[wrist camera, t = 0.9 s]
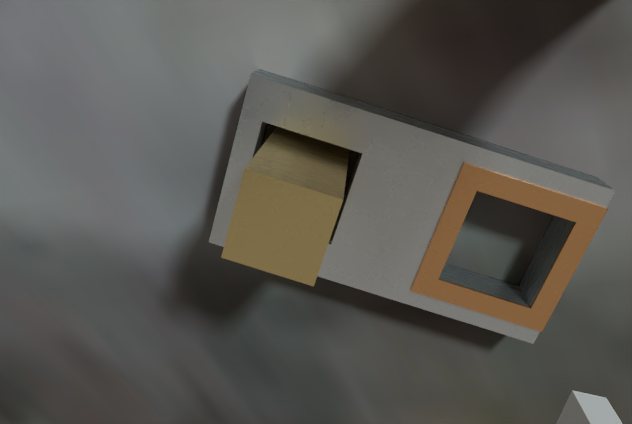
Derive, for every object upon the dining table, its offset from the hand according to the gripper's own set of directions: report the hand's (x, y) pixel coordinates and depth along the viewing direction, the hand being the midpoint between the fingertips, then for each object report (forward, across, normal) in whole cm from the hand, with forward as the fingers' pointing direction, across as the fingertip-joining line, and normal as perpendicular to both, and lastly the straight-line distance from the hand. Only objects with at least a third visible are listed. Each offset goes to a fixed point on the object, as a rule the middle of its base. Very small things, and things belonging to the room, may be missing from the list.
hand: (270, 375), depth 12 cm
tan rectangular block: (+21, -1, -2) cm, 21 cm away
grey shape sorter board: (+21, +5, -2) cm, 21 cm away
